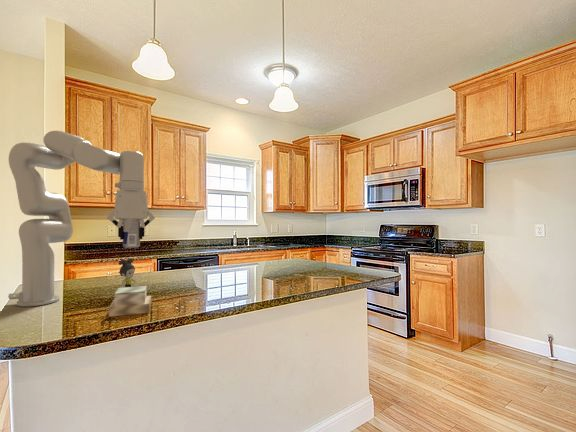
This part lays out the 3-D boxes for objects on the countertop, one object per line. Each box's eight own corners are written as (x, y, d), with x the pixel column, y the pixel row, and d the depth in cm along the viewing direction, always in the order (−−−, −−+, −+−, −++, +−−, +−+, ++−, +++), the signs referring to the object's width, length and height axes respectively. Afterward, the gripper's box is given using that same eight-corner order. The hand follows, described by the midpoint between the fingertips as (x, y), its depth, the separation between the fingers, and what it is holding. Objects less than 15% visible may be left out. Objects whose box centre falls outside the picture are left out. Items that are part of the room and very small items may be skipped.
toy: (125, 298, 124) (125, 260, 124) (113, 297, 125) (113, 260, 125) (139, 293, 132) (139, 258, 132) (128, 292, 133) (128, 257, 134)
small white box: (108, 316, 101) (108, 294, 101) (114, 306, 112) (114, 287, 112) (149, 312, 105) (149, 291, 105) (151, 303, 116) (151, 284, 116)
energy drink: (126, 246, 111) (127, 212, 111) (142, 246, 112) (142, 212, 112) (120, 247, 106) (120, 212, 106) (136, 247, 106) (136, 212, 106)
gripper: (101, 185, 102) (101, 240, 102) (158, 187, 108) (157, 239, 108) (105, 187, 109) (105, 239, 109) (158, 189, 116) (158, 238, 115)
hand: (131, 238), depth 109 cm, fingers closed on energy drink, 5 cm apart
